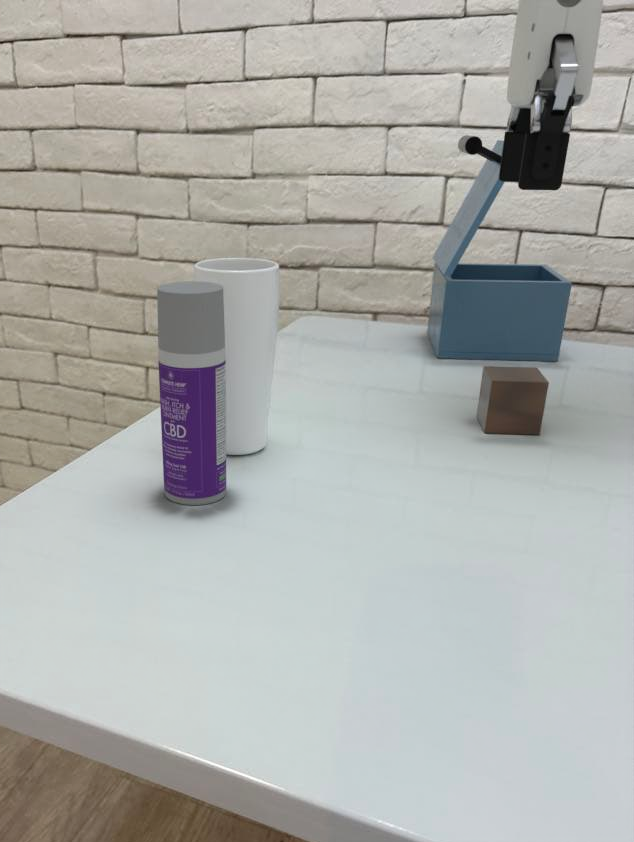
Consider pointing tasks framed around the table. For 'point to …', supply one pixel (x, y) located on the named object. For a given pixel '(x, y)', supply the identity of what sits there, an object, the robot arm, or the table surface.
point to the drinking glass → (246, 344)
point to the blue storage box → (498, 312)
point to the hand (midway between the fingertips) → (527, 185)
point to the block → (512, 400)
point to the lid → (471, 204)
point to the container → (192, 390)
